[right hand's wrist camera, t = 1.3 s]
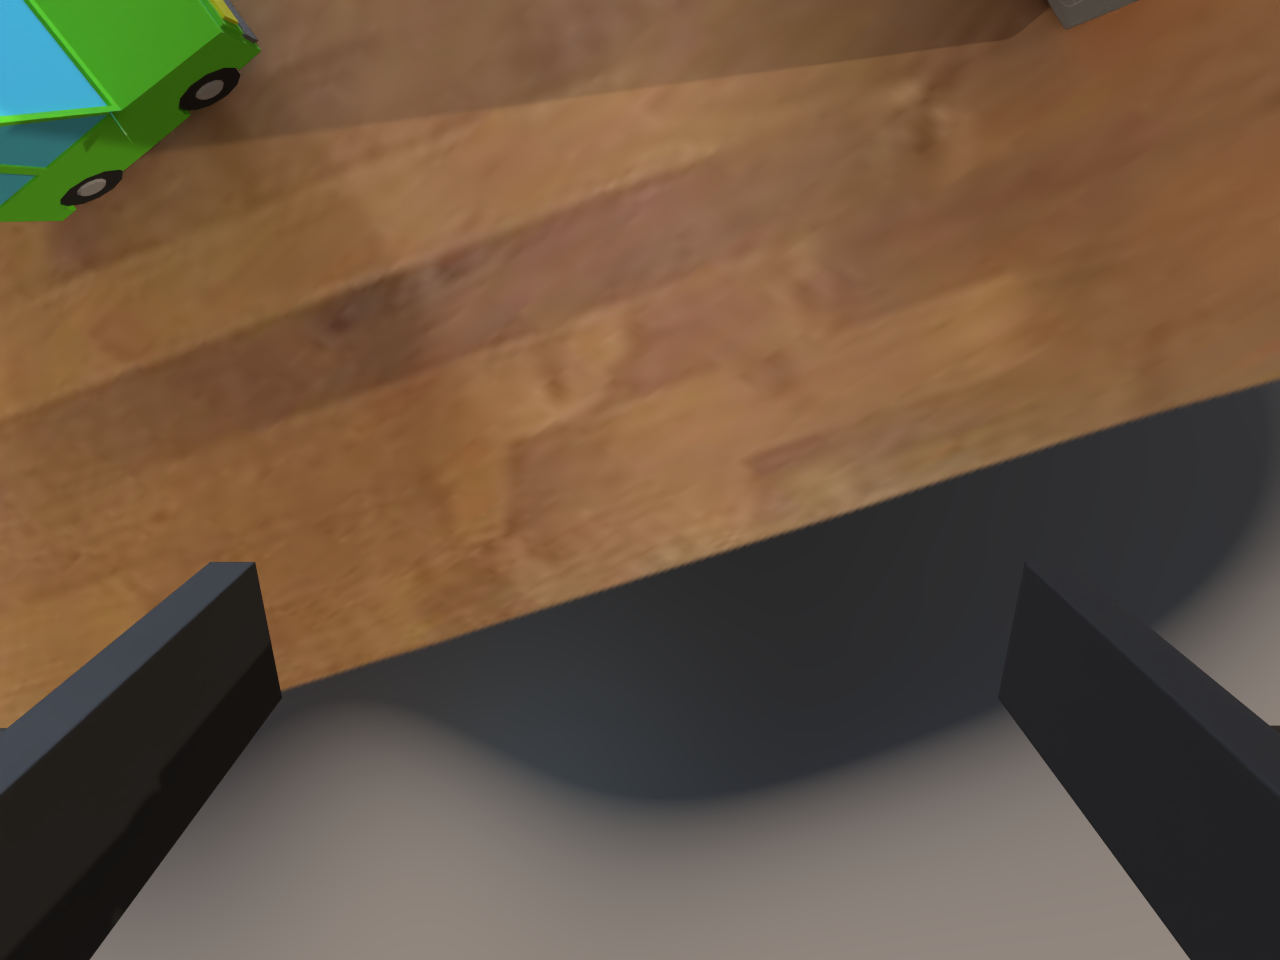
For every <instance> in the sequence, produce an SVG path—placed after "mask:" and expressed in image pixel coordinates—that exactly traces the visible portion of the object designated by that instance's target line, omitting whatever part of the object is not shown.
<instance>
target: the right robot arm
mask: <svg viewBox="0 0 1280 960" xmlns="http://www.w3.org/2000/svg"><path fill="white" fill-rule="evenodd" d="M281 698H282V696H281V691H280V686H279V681H278V675H277V670H276V665H275V660H274V655H273V650H272V645H271V640H270V635H269V630H268V625H267V620H266V615H265V610H264V605H263V600H262V595H261V590H260V585H259V579H258V574H257V569H256V564H255V562H210V563H209V564H207V565H206V566H205V567H204V568H202V569H201V570H200V571H199V572H198V573H196V574H195V575H194V576H193V577H191V578H190V579H189V580H188V581H187V582H185V583H184V584H183V585H182V586H180V587H179V588H178V589H177V590H176V591H174V592H173V593H172V594H171V595H169V596H168V597H167V598H166V599H165V600H163V601H162V602H161V603H160V604H158V605H157V606H156V607H155V608H154V609H152V610H151V611H150V612H149V613H147V614H146V615H145V616H144V617H143V618H141V619H140V620H139V621H138V622H136V623H135V624H134V625H133V626H132V627H130V628H129V629H128V630H127V631H125V632H124V633H123V634H122V635H121V636H119V637H118V638H117V639H116V640H115V641H113V642H112V643H111V644H110V645H108V646H107V647H106V648H105V649H104V650H102V651H101V652H100V653H99V654H97V655H96V656H95V657H94V658H93V659H91V660H90V661H89V662H88V663H86V664H85V665H84V666H83V667H82V668H80V669H79V670H78V671H77V672H75V673H74V674H73V675H72V676H71V677H69V678H68V679H67V680H66V681H64V682H63V683H62V684H61V685H60V686H58V687H57V688H56V689H55V690H53V691H52V692H51V693H50V694H49V695H47V696H46V697H45V698H44V699H42V700H41V701H40V702H39V703H38V704H36V705H35V706H34V707H33V708H31V709H30V710H29V711H28V712H27V713H25V714H24V715H23V716H22V717H20V718H19V719H18V720H17V721H16V722H14V723H13V724H12V725H11V726H9V727H8V728H0V960H90V958H91V957H92V956H93V954H94V953H95V952H96V950H97V949H98V947H99V946H100V945H101V943H102V942H103V941H104V939H105V938H106V937H107V935H108V934H109V932H110V931H111V930H112V928H113V927H114V926H115V924H116V923H117V922H118V920H119V919H120V918H121V916H122V915H123V913H124V912H125V911H126V909H127V908H128V907H129V905H130V904H131V903H132V901H133V900H134V898H135V897H136V896H137V894H138V893H139V892H140V890H141V889H142V888H143V886H144V885H145V883H146V882H147V881H148V879H149V878H150V877H151V875H152V874H153V873H154V871H155V870H156V869H157V867H158V866H159V864H160V863H161V862H162V860H163V859H164V858H165V856H166V855H167V854H168V852H169V851H170V849H171V848H172V847H173V845H174V844H175V843H176V841H177V840H178V839H179V837H180V836H181V834H182V833H183V832H184V830H185V829H186V828H187V826H188V825H189V824H190V822H191V821H192V819H193V818H194V817H195V815H196V814H197V813H198V811H199V810H200V809H201V807H202V806H203V805H204V803H205V802H206V800H207V799H208V798H209V796H210V795H211V794H212V792H213V791H214V790H215V788H216V787H217V785H218V784H219V783H220V781H221V780H222V779H223V777H224V776H225V775H226V773H227V772H228V771H229V769H230V768H231V766H232V765H233V764H234V762H235V761H236V760H237V758H238V757H239V755H240V754H241V753H242V751H243V750H244V749H245V747H246V746H247V745H248V743H249V742H250V741H251V739H252V738H253V736H254V735H255V734H256V732H257V731H258V730H259V728H260V727H261V726H262V724H263V723H264V721H265V720H266V719H267V717H268V716H269V715H270V713H271V712H272V711H273V709H274V708H275V707H276V705H277V704H278V702H279V701H280V700H281ZM998 698H999V700H1000V701H1001V702H1002V704H1003V705H1004V706H1005V708H1006V709H1007V711H1008V712H1009V713H1010V715H1011V716H1012V717H1013V719H1014V720H1015V721H1016V723H1017V724H1018V726H1019V727H1020V728H1021V730H1022V731H1023V732H1024V734H1025V735H1026V736H1027V738H1028V739H1029V741H1030V742H1031V743H1032V745H1033V746H1034V747H1035V749H1036V750H1037V751H1038V753H1039V754H1040V756H1041V757H1042V758H1043V760H1044V761H1045V762H1046V764H1047V765H1048V766H1049V768H1050V769H1051V771H1052V772H1053V773H1054V775H1055V776H1056V777H1057V779H1058V780H1059V781H1060V783H1061V784H1062V785H1063V787H1064V788H1065V790H1066V791H1067V792H1068V794H1069V795H1070V796H1071V798H1072V799H1073V800H1074V802H1075V803H1076V805H1077V806H1078V807H1079V809H1080V810H1081V811H1082V813H1083V814H1084V815H1085V817H1086V818H1087V820H1088V821H1089V822H1090V824H1091V825H1092V826H1093V828H1094V829H1095V830H1096V832H1097V833H1098V835H1099V836H1100V837H1101V839H1102V840H1103V841H1104V843H1105V844H1106V845H1107V847H1108V848H1109V849H1110V851H1111V852H1112V854H1113V855H1114V856H1115V858H1116V859H1117V860H1118V862H1119V863H1120V864H1121V866H1122V867H1123V869H1124V870H1125V871H1126V873H1127V874H1128V875H1129V877H1130V878H1131V879H1132V881H1133V882H1134V883H1135V885H1136V886H1137V888H1138V889H1139V890H1140V892H1141V893H1142V894H1143V896H1144V897H1145V898H1146V900H1147V901H1148V902H1149V904H1150V905H1151V907H1152V908H1153V909H1154V911H1155V912H1156V913H1157V915H1158V916H1159V918H1160V919H1161V920H1162V922H1163V923H1164V924H1165V926H1166V927H1167V928H1168V930H1169V931H1170V933H1171V934H1172V935H1173V937H1174V938H1175V939H1176V941H1177V942H1178V943H1179V945H1180V946H1181V948H1182V949H1183V950H1184V952H1185V953H1186V954H1187V956H1188V957H1189V958H1190V960H1280V726H1269V725H1268V724H1267V723H1266V722H1264V721H1263V720H1262V719H1261V718H1260V717H1258V716H1257V715H1256V714H1255V713H1253V712H1252V711H1251V710H1250V709H1249V708H1247V707H1246V706H1245V705H1244V704H1242V703H1241V702H1240V701H1239V700H1238V699H1236V698H1235V697H1234V696H1233V695H1231V694H1230V693H1229V692H1228V691H1227V690H1225V689H1224V688H1223V687H1222V686H1220V685H1219V684H1218V683H1217V682H1215V681H1214V680H1213V679H1212V678H1211V677H1209V676H1208V675H1207V674H1206V673H1205V672H1203V671H1202V670H1201V669H1200V668H1198V667H1197V666H1196V665H1195V664H1194V663H1192V662H1191V661H1190V660H1189V659H1187V658H1186V657H1185V656H1184V655H1183V654H1181V653H1180V652H1179V651H1178V650H1176V649H1175V648H1174V647H1173V646H1172V645H1170V644H1169V643H1168V642H1167V641H1165V640H1164V639H1163V638H1162V637H1161V636H1159V635H1158V634H1157V633H1156V632H1155V631H1153V630H1152V629H1151V628H1150V627H1148V626H1147V625H1146V624H1145V623H1144V622H1142V621H1141V620H1140V619H1139V618H1137V617H1136V616H1135V615H1134V614H1133V613H1131V612H1130V611H1129V610H1128V609H1126V608H1125V607H1124V606H1123V605H1122V604H1120V603H1119V602H1118V601H1117V600H1115V599H1114V598H1113V597H1112V596H1110V595H1109V594H1108V593H1107V592H1106V591H1104V590H1103V589H1102V588H1101V587H1100V586H1098V585H1097V584H1096V583H1095V582H1093V581H1092V580H1091V579H1090V578H1089V577H1087V576H1086V575H1085V574H1084V573H1082V572H1081V571H1080V570H1079V569H1077V568H1076V567H1075V566H1074V565H1073V564H1071V563H1070V562H1025V564H1024V570H1023V575H1022V580H1021V585H1020V590H1019V595H1018V600H1017V605H1016V610H1015V615H1014V620H1013V625H1012V630H1011V635H1010V640H1009V645H1008V650H1007V655H1006V660H1005V665H1004V670H1003V676H1002V681H1001V686H1000V691H999V696H998Z"/></svg>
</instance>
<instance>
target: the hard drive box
mask: <svg viewBox="0 0 1280 960" xmlns="http://www.w3.org/2000/svg"><path fill="white" fill-rule="evenodd" d="M1047 1H1048V2H1049V4H1050V6H1051V7H1052V9H1053V11H1054V13H1055V14H1056V16H1057V18H1058V19H1059V21H1060V22H1061V24H1062V25H1063V27H1064V28H1065V29H1070V28H1072V27H1074V26H1077V25H1079V24H1082V23H1084V22H1087V21H1089V20H1092V19H1094V18H1097V17H1099V16H1102V15H1104V14H1106V13H1109V12H1111V11H1114V10H1117V9H1119V8H1121V7H1123V6H1126V5H1128V4H1130V3H1133V2H1135V1H1138V0H1047Z"/></svg>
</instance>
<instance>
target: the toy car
mask: <svg viewBox="0 0 1280 960" xmlns="http://www.w3.org/2000/svg"><path fill="white" fill-rule="evenodd" d="M257 41H258V40H257V38H256V37H255V36H254V34H253V33H252V32H251V30H250V29H249V27H248V26H247V25H246V23H245V22H244V20H243V19H242V18H241V16H240V15H239V13H238V12H237V11H236V9H235V8H234V6H233V5H232V4H231V2H230V1H229V0H0V222H17V221H63V220H64V219H66V218H67V217H68V216H69V215H70V214H72V213H73V212H74V211H75V210H77V209H76V208H75V207H74V205H78V204H84V203H86V202H89V201H91V200H94V199H96V198H99V197H101V196H102V195H104V194H105V193H107V192H108V191H110V190H111V189H113V188H114V187H115V186H116V185H117V184H118V183H119V181H120V180H121V179H122V172H123V171H124V170H125V169H126V168H128V167H129V166H130V165H131V164H132V163H134V162H135V161H136V160H137V159H139V158H140V157H141V156H142V155H143V154H145V153H146V152H147V151H148V150H150V149H151V148H152V147H153V146H154V145H156V144H157V143H158V142H159V141H160V140H162V139H163V138H164V137H165V136H167V135H168V134H169V133H170V132H171V131H173V130H174V129H175V128H176V127H177V126H179V125H180V124H181V123H182V122H183V121H185V120H186V119H187V118H188V117H189V116H190V115H191V114H190V112H189V111H188V110H198V109H201V108H203V107H206V106H209V105H212V104H214V103H215V102H217V101H219V100H220V99H222V98H223V97H225V96H226V95H228V94H229V93H230V92H231V90H232V89H233V88H234V87H235V86H236V85H237V84H238V80H239V77H240V74H239V72H238V71H237V70H236V68H238V69H239V70H240V69H241V68H243V67H244V66H245V65H246V64H247V63H248V62H249V61H250V60H251V59H252V58H254V57H255V56H256V55H257V54H258V53H259V52H260V51H261V49H260V48H259V47H258V45H257V44H256V42H257Z"/></svg>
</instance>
